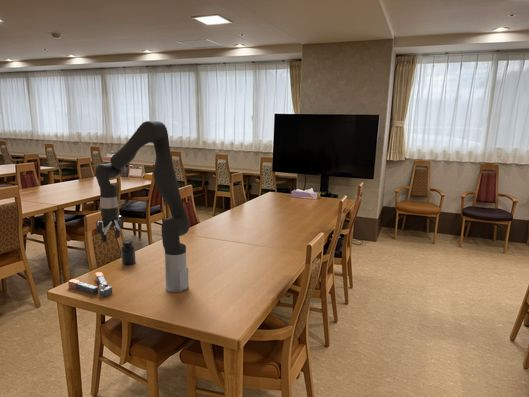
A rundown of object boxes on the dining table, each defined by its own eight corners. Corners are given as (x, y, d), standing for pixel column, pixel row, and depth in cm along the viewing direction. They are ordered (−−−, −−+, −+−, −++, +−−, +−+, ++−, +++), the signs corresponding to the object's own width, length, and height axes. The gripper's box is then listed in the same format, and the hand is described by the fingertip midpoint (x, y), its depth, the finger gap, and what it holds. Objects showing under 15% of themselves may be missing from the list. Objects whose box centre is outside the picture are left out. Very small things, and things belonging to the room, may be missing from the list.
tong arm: (108, 290, 164) (108, 283, 163) (102, 291, 163) (101, 285, 162) (101, 278, 177) (101, 271, 177) (95, 279, 176) (95, 272, 175)
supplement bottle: (131, 259, 202) (130, 238, 199) (138, 262, 197) (137, 241, 195) (119, 263, 196) (118, 241, 194) (126, 266, 192) (125, 244, 190)
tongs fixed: (112, 293, 161) (112, 284, 161) (102, 298, 157) (101, 289, 156) (79, 283, 171) (78, 275, 170) (68, 287, 166) (68, 279, 165)
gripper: (102, 209, 166) (104, 245, 169) (126, 204, 179) (128, 237, 182) (90, 207, 169) (92, 242, 173) (115, 202, 182) (117, 234, 185)
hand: (111, 239), depth 177 cm, fingers open, 7 cm apart
